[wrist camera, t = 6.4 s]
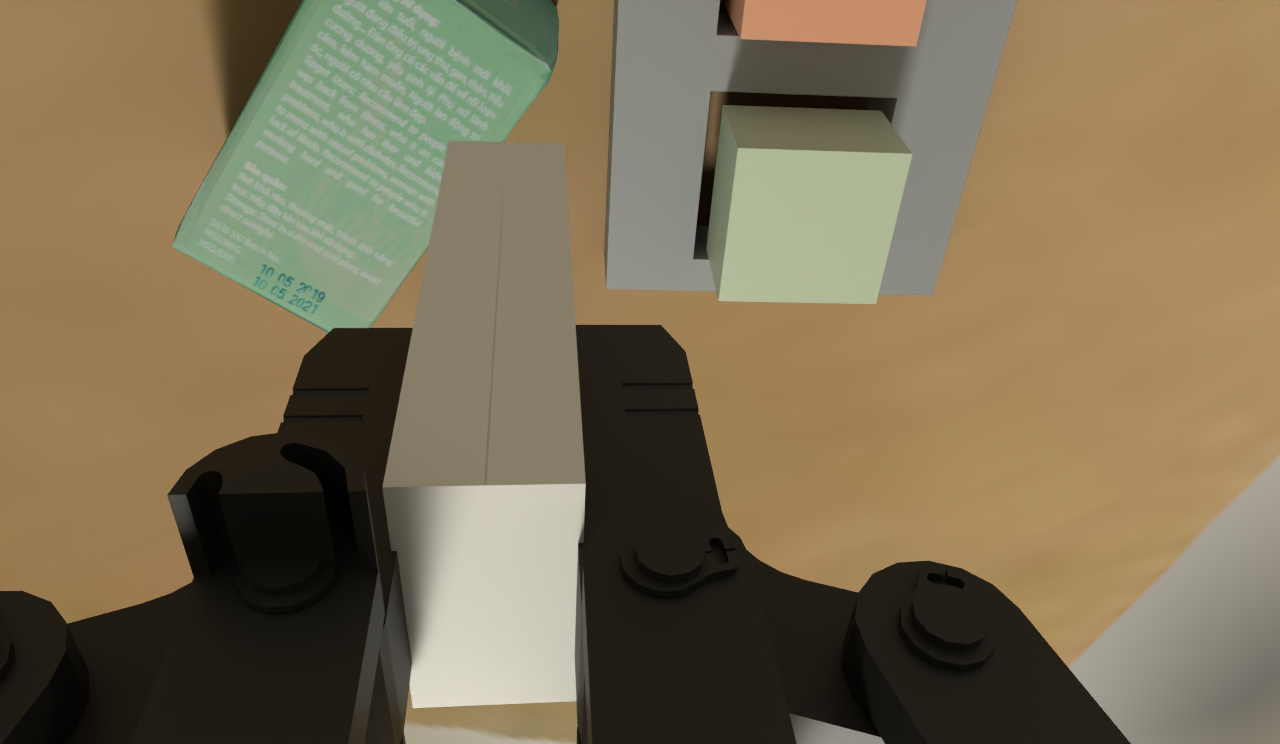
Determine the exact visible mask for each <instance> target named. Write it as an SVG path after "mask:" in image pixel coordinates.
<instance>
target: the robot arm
mask: <svg viewBox="0 0 1280 744" xmlns="http://www.w3.org/2000/svg"><path fill="white" fill-rule="evenodd" d="M692 384H693V382H692V378H691V374H690V369H689V365H688V360H687V356H686V352H685V351H684V350H683V348H682V347H681V346H680V345H679V344H678V343H677V342H676V341H675V340H674V339H673V338H672V337H671V335H670V334H669V333H668V332H667V331H666V330H665V329H664V328H663V327H662V326H661V325H575V309H574V293H573V278H572V262H571V247H570V231H569V215H568V200H567V184H566V168H565V153H564V143H533V142H488V141H449V142H448V147H447V152H446V157H445V163H444V168H443V173H442V178H441V184H440V189H439V194H438V199H437V205H436V210H435V215H434V220H433V225H432V231H431V236H430V241H429V246H428V252H427V257H426V262H425V267H424V273H423V278H422V283H421V288H420V293H419V299H418V304H417V309H416V314H415V320H414V325H413V328H333V329H332V330H331V331H330V332H329V333H328V334H327V335H326V336H325V337H324V338H323V339H322V340H320V341H319V342H318V343H317V344H316V345H315V346H314V347H313V348H312V349H311V350H310V351H309V352H308V353H307V354H306V355H305V356H304V358H303V361H302V363H301V366H300V369H299V372H298V375H297V378H296V381H295V384H294V387H293V395H290V398H289V401H288V404H287V407H286V410H285V413H284V415H283V416H284V422H283V423H281V424H280V427H279V430H278V433H275V434H267V435H260V436H252V437H249V438H246V439H243V440H241V441H238V442H235V443H232V444H230V445H227V446H224V447H222V448H219V449H216V450H214V451H213V452H212V453H210V454H209V455H207V456H206V457H204V458H203V459H201V460H200V461H198V462H197V463H196V464H194V465H193V466H191V467H190V468H188V469H187V470H186V471H185V472H184V473H183V475H182V476H181V477H180V479H179V480H178V481H177V483H176V484H175V485H174V487H173V488H172V489H171V491H170V492H169V493H168V495H167V496H168V499H169V502H170V505H171V508H172V511H173V514H174V517H175V520H176V523H177V526H178V529H179V533H180V536H181V539H182V542H183V545H184V548H185V551H186V554H187V557H188V560H189V563H190V566H191V570H192V573H193V576H194V578H193V581H192V582H191V583H190V584H188V585H186V586H184V587H182V588H180V589H178V590H176V591H175V592H173V593H170V594H168V595H165V596H162V597H159V598H156V599H154V600H151V601H148V602H145V603H142V604H139V605H135V606H131V607H127V608H124V609H120V610H116V611H113V612H109V613H105V614H102V615H98V616H94V617H91V618H87V619H83V620H79V621H76V622H72V623H68V624H67V623H66V621H65V620H64V619H63V617H62V616H61V615H60V613H59V612H58V611H57V609H56V608H55V607H54V605H53V604H52V603H51V602H50V601H47V600H45V599H42V598H39V597H37V596H34V595H31V594H29V593H26V592H24V591H0V744H406V743H405V736H404V723H405V715H406V707H407V700H408V692H409V684H410V691H411V698H412V705H413V708H425V707H448V706H471V705H495V704H518V703H541V702H565V701H576V702H577V744H1131V743H1130V742H1129V741H1128V740H1127V738H1126V737H1125V736H1124V735H1123V734H1122V732H1121V731H1120V730H1119V729H1118V728H1117V726H1116V725H1115V724H1114V723H1113V722H1112V720H1111V719H1110V718H1109V717H1108V715H1107V714H1106V713H1105V712H1104V711H1103V709H1102V708H1101V707H1100V706H1099V705H1098V703H1097V702H1096V701H1095V700H1094V699H1093V697H1091V695H1090V694H1089V692H1088V691H1087V690H1086V689H1085V688H1084V686H1083V685H1082V684H1081V683H1080V682H1079V681H1078V679H1077V678H1076V677H1075V675H1074V674H1073V673H1072V672H1071V671H1070V669H1069V668H1068V667H1067V666H1066V665H1065V663H1064V662H1063V661H1062V660H1061V658H1060V657H1059V656H1058V655H1057V654H1056V652H1055V651H1054V650H1053V649H1052V648H1051V646H1050V645H1049V644H1048V643H1047V641H1046V640H1045V639H1044V638H1043V637H1042V635H1041V634H1040V633H1039V632H1038V631H1037V629H1036V628H1035V627H1034V626H1033V624H1032V623H1031V622H1030V621H1029V620H1028V618H1027V617H1026V616H1025V615H1024V614H1023V612H1022V611H1021V610H1020V609H1019V608H1018V607H1017V606H1016V605H1015V604H1014V603H1013V602H1012V601H1011V600H1009V599H1008V598H1007V597H1006V596H1005V595H1004V594H1003V593H1002V592H1001V591H1000V590H998V589H997V588H996V587H995V586H994V585H993V584H991V583H989V582H987V581H985V580H983V579H981V578H979V577H977V576H975V575H973V574H971V573H969V572H968V571H966V570H964V569H962V568H957V567H953V566H949V565H944V564H940V563H936V562H931V561H917V562H900V563H896V564H894V565H891V566H889V567H887V568H885V569H883V570H880V571H878V572H876V573H874V574H872V576H871V577H870V578H869V580H868V581H867V582H866V584H865V585H864V586H863V588H862V589H861V590H860V592H859V593H857V592H853V591H849V590H845V589H840V588H836V587H832V586H828V585H824V584H819V583H815V582H811V581H807V580H803V579H800V578H797V577H794V576H791V575H788V574H785V573H782V572H780V571H778V570H776V569H774V568H772V567H771V566H769V565H767V564H765V563H763V562H761V561H760V560H758V559H757V558H756V557H755V556H753V555H752V554H751V553H750V552H749V551H747V550H746V548H745V546H744V544H743V542H742V540H741V538H740V537H739V536H738V535H737V534H735V533H734V532H733V531H732V530H731V529H730V528H728V526H727V523H726V521H725V518H724V516H723V513H722V510H721V505H720V501H719V497H718V492H717V488H716V484H715V479H714V475H713V470H712V466H711V462H710V457H709V453H708V448H707V444H706V440H705V435H704V431H703V426H702V422H701V418H700V415H698V404H697V400H696V396H695V391H694V389H693V388H692Z"/></svg>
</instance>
